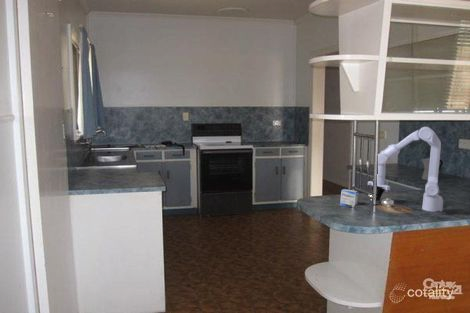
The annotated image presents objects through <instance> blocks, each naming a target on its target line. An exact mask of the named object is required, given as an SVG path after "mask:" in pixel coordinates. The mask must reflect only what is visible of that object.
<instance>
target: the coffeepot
mask: <svg viewBox="0 0 470 313" xmlns="http://www.w3.org/2000/svg"><path fill="white" fill-rule="evenodd" d="M420 161H421V162H422V164H423V168H424V170H423V173H422V175H421V179H422V180H424V181H428V174H429V163H430V157H429V158H421V159H420ZM443 165H444V161H443V160H442V159H440V161H439V171H441V168H442V167H443Z"/></svg>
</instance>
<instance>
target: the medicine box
mask: <svg viewBox="0 0 470 313" xmlns="http://www.w3.org/2000/svg"><path fill="white" fill-rule="evenodd" d="M358 199H359V190H354V189H353V190H352V189H346V188H344V189H341V192H340V203H339V206H340V207H345V208H351V209H354V207H355V206H357V205H358Z"/></svg>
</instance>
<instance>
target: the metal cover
mask: <svg viewBox="0 0 470 313" xmlns="http://www.w3.org/2000/svg"><path fill="white" fill-rule="evenodd" d="M394 202H395V201H394V200H392V199H391V198H389V197H386V198H382V199H381V202H380V204H381V206H383V207H389V208H391V207H393V205H395V204H394Z"/></svg>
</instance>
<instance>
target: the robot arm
mask: <svg viewBox="0 0 470 313" xmlns="http://www.w3.org/2000/svg"><path fill="white" fill-rule="evenodd" d="M420 140H423V141H424V142H426V143H427V144H428V145H429V146H430V156H429V158H430V163H429V174H428V180H427V181H426V183H425V185H424V186H425V188H424V193H423V194H422V195H423V198H422V206H421V207H422V208H421V209H422V210H423V211H426V212H432V213H433V212H434V213H435V212H441V213H442V212H443V206H444V200H443V199H444V198H443V197H442V196H441V195H439V193H440V188H439V184H438V183H439V171H440V170H439V166H440V162H439V161H440V160H441V151H442V150H441V147H442V142H441V140H440V138H439V137H438V135H437V134H436V132H435V131H434V130H433V129H432V128H431V127H429V126H423V127H421V128H419V129H416V130H415V131H413V132H412V133H410V134H408V135H407V136H406V137H405V138H403V139H402V140H400V141H399V142H397V143H396V144H394V143H393V144H389V145H388V146H387V147H386V148H384V149H383V150H381V151H380V153H378V154H377V155H378V174H377V194H376V200H375V201H377V202H379V201H381V198H382V196H383V194H384V193H385V191H391V186H390V185H387V184H385V183H386V171H387V170H386V169H387V167H386V165H387V161H388V160H389V161H390V160H391V159H393V158H394V157H396V156H397V155H398V154H399V153H401V149H403V148H405V147H406V146H407V145H409V144H411V143H412V142H414V141H420ZM367 185H368V186H371V190H372V191H373V187H374V186H373V180H370V181H367Z"/></svg>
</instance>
